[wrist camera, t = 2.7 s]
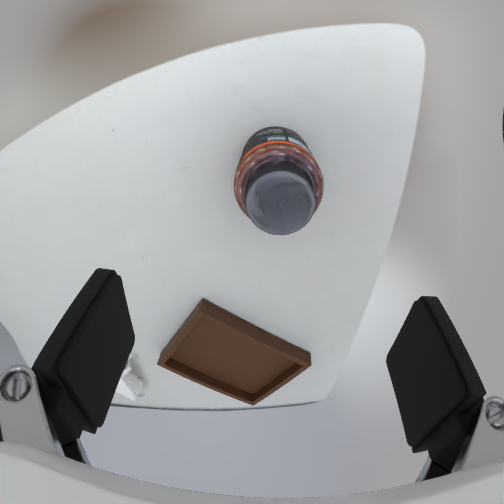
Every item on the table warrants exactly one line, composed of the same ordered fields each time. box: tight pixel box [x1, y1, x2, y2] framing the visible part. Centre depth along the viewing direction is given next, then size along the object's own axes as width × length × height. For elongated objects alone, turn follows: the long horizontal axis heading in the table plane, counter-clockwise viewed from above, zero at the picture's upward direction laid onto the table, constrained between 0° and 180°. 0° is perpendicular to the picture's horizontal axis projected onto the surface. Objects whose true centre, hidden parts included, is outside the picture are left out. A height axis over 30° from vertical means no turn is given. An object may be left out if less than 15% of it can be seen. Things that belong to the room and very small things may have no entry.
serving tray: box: [157, 299, 311, 405], centre depth 40 cm, size 17×14×2 cm
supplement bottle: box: [234, 127, 323, 235], centre depth 22 cm, size 6×6×11 cm
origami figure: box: [116, 353, 144, 401], centre depth 42 cm, size 12×8×5 cm
